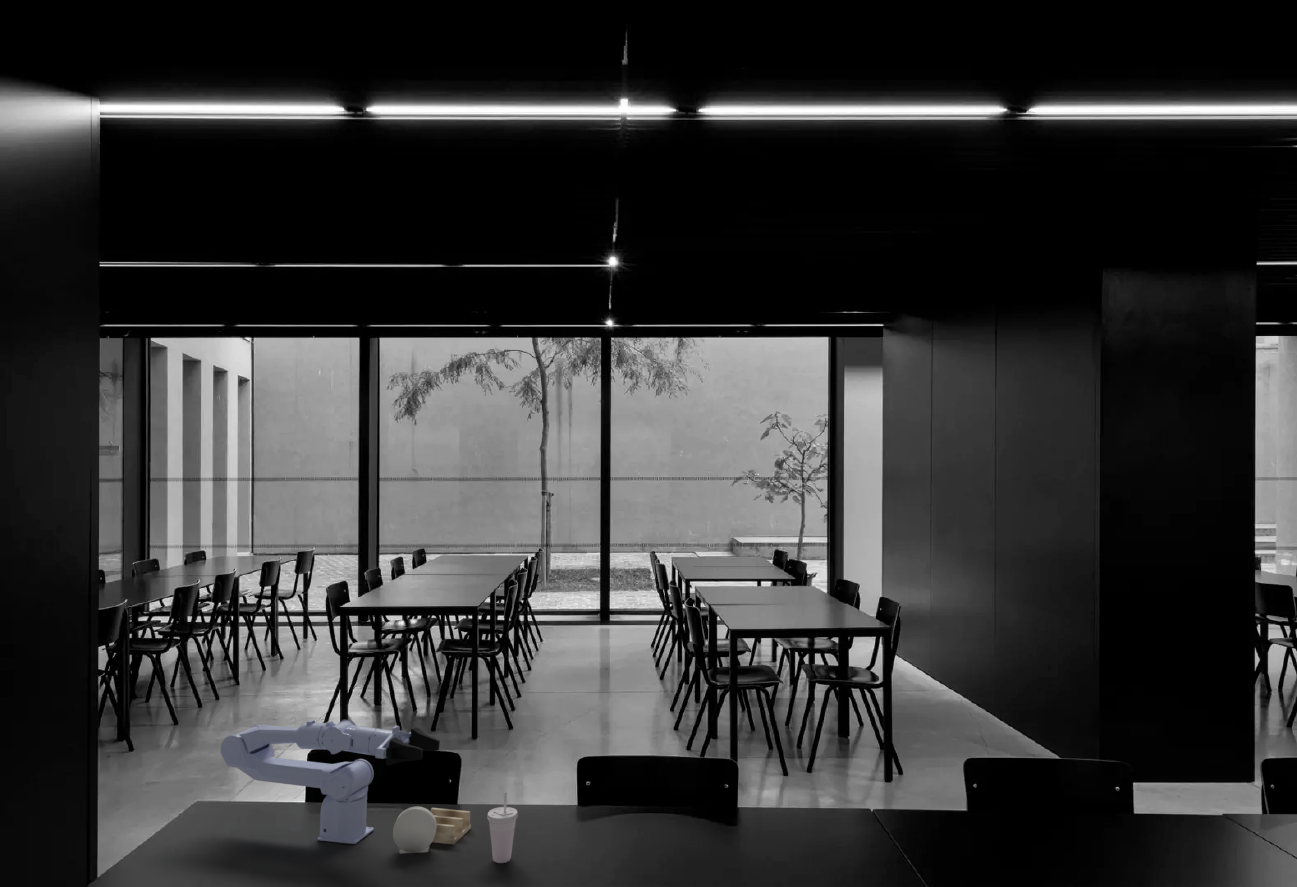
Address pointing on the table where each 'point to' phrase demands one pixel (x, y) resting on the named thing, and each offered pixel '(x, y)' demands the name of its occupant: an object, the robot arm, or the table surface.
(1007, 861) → the table surface
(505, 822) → the smoothie
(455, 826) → the rack
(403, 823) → the plate
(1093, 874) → the table surface
